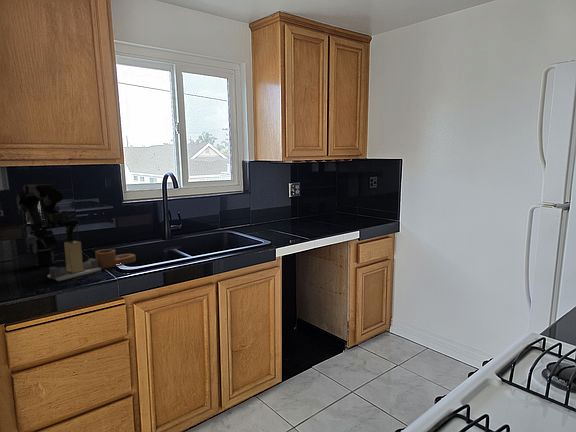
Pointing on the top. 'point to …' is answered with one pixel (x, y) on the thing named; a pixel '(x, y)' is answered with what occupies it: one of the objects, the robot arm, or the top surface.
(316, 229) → the top surface
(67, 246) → the gold tall square block
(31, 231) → the robot arm
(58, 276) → the plate with raised blocks
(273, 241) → the top surface
